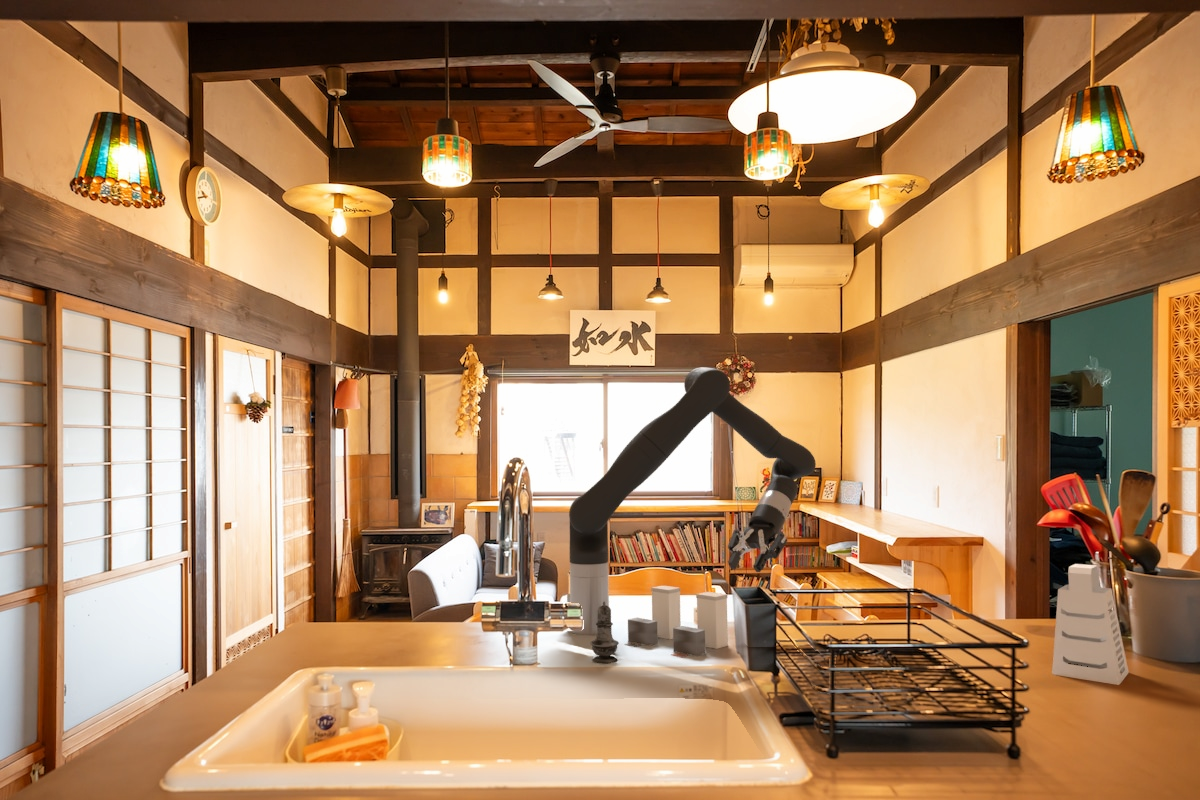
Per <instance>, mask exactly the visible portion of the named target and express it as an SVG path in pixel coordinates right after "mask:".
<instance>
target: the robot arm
mask: <svg viewBox="0 0 1200 800" xmlns="http://www.w3.org/2000/svg"><path fill="white" fill-rule="evenodd" d="M683 385H684V391H685V393H684V394H683V396H682V397H681V398H680V399H679V401H677V402H676V403H675V405H673V406H672V407H670V408H669V410H667V411H665V412H664V413H662V414H661V415H659V416H657V417H656V418H654V419H653V420H651V421H649V423H648V424H646V425H645V426H644V427H643V428H641V429H640V430H639V431H638V432H637V434H635V435H634V437H633V438H632V439H631V440H630V441H629V443H627V445H626V446H625V447H624V448H623V449H622V451H621V452H620V453H619V454H618V455H617V458H616V459H615V460H614V462H613V463H612V465H610V468H609V469H608V470H607V471H606V473H605V474H604V475H603V476H602V477H601V478H600V479H599V480H598V481H597V482H596V483H595V484H594V485H592V487H591V488H589V489H588V490H587V491H585V493H583V494H582V495H579V496H578V497H577V498H575V499H574V500H573V501H572V503H571V505H570V508H569V511H568V513H569V514H568V517H569V593H568V594H567V595H566V603H567V602H571V603H579V604H580V605H581V606H582V609H583V620H584V629H583V630H582V631H567V630H566V631H567V633H568V632H569V633H571V634H573V635H577V636H578V635H579V636H597V625H596V623H597V622H598V608H599V607H600V606H602V605H603V602H604V601H605V603H606V604H605V605H606V606H608V607H610V604H609V603H610V601H609V599H610V598H609V597H610V595H609V593H610V591H609V589H610V586H609V585H610V584H609V581H610V579H609V542H608V541H609V535H608V534H609V533H608V531H609V530H608V529H609V528H608V527H609V526H608V523H609V520H610V519H611V517H612V516H613V514H614V513H615V512H616V511H617V509H618V508H619V507H620V505H621V504H622V503H623V502H624V500H626V499H627V497H628V496H629V495H631V493H632V492H633V491H635V490H636V489H637V488H638V487H639V486H641V485H642V484H643V483H644V482H645V481H646V480H647V479H649V477H651V476H652V475H653V473H655V472H656V470H658V469H659V467H660V466H662V465H663V463H664V462H665V461H666V460H667V459H668V458H669V457H670V456H671V454H672V453H673V452H674V451H675V450H676V449H677V448H678V447H679V445H681V443H683V441H685V439H686V438H687V437H688V436H689V434H690V433H691V432H692V431H693V430H694V429H695V428H696V427H697V426H698V425H699V424H700V423H701V422H702V421H703V420H704V419H705V418H706V417H707V416H709V415H710V414H711V413H713V414H714V415H716V416H717V417H718V418H720V419H721V420H722V421H724V422H725V423H726V424H727V425H728V426H729V427H730V428H732V429H733V430H734V431H735V432H736V433H737V434H738V435H740V436H741V437H742V438H743V439H744V440H745V441H746V442H747V443H748V444H750V446H751V447H753V448H754V449H755V450H756V451H757V452H758V453H760V454H761V455H762V456H763V457H765V458H767V459H775V460H774V462H773V464H772V468H771V474H770V479H769V483H768V485H767V487H766V489H765V491H764V493H763V495H762V496H761V497H760V499H759V501H758V502H757V504H756V506H755V508H754V510H753V513H752V514H751V516H750V518H749V522H748V527H746V529H744V530H743V531H742V530H741V531H739V528H735V529H734V530H733V532H732V535H731V537H730V540H729V542H728V545H727V549H728V550H729V552H730V553H731V556H730V558H729V559H728V561H727V563H728V566H729V568H730V569H731V570H736V569H737V566H738V565H739V563H740V560H741V559H742V558H741V557H742V556H743V555H744V554H746V553H749V552H750V551H752V549H753V550H755V549H759V550H760V553H758V555H757V557H756V560H755V561H754V564H753V569H754V571H755V572H756V573H761V571H762V570H764V568H765V566H766V564H767V562H768V561H769V560H770V559H774V560H776V559H778V557H779V556H780V554H781V552H782V551H783V549H784V547H785V545H786V544H787V542H788V538H787V537H786V535H785V534H784V531H781V530H782V529H783V526H784V524H785V523H786V520H787V518H788V515H789V513H790V510H791V508H792V504H793V502H794V500H795V498H796V496H797V494H798V490H799V488H798V484H797V483H796V481H795V480H798V479H801V478H804V477H807V476H810V475H811V474H812V473H813V472H814V471H815V469H816V468H817V467H816V465H817V464H816V460H815V456H814V455H813V453H812V452H811V451H810V450H809V449H808V448H806V446H804V445H802V444H800V443H798V442H797V441H794V440H793V439H791V438H788V437H786V436H785V435H783V434H782V433H781V432H780V431H778V430H777V429H776V427H774V426H773V425H772V424H770V422H768V421H767V420H766V419H765V418H764V417H761V415H759V414H757V413H756V412H754V411H753V410H751V409H750V408H749V407H747V406H746V405H744V404H743V403H741V401H739V400H738V399H736V397H734V395H732V394H731V393H730V390H731V381H730V379H729V376H728V375H727V373H726V372H724V371H723V370H720V369H718V368H715V367H713V368H712V367H707V366H704V367H703V366H702V367H696V368H694V369H692V370H690V371H689V372H688V373H687V375H686V377H685V378H684V384H683ZM746 544H747V545H746Z"/></svg>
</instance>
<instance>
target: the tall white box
mask: <svg viewBox="0 0 1200 800" xmlns="http://www.w3.org/2000/svg"><path fill="white" fill-rule="evenodd" d="M695 597H696V598H695V599H696V612H697V614H696V615H697V617H696V618H697V621H696V622H697V623H696V624H697V629H702V630H705V648H709V649H715V650H718V649H721V648H725V647H728V646H729V643H728V642H729V638H728V637H729V636H728V635H729V633H728V631H729V630H728V594H726V593H719V592H712V591H703V592H700V593H696V594H695Z"/></svg>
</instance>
